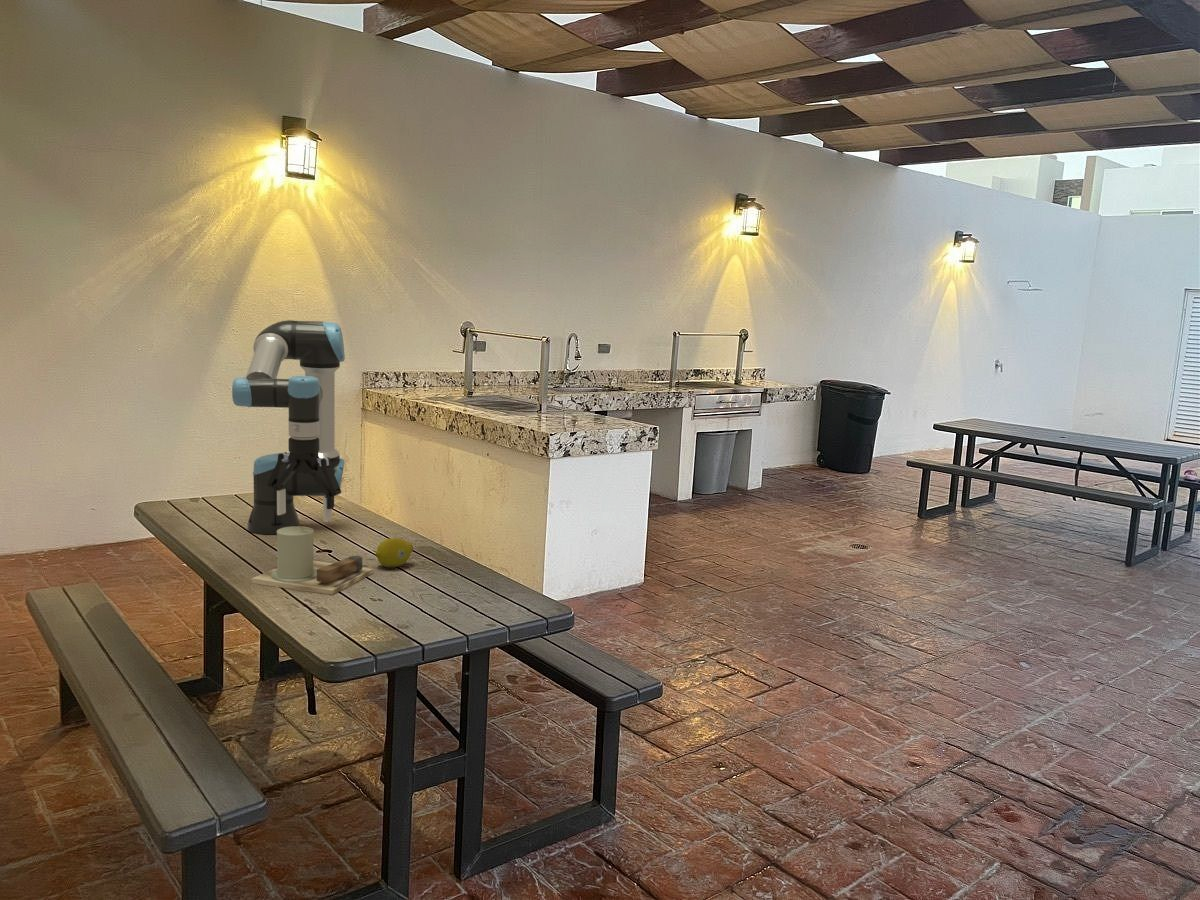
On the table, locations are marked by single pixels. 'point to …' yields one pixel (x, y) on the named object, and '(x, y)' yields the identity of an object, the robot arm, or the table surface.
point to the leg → (339, 569)
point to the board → (312, 580)
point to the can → (295, 552)
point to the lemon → (393, 552)
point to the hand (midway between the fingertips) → (304, 517)
